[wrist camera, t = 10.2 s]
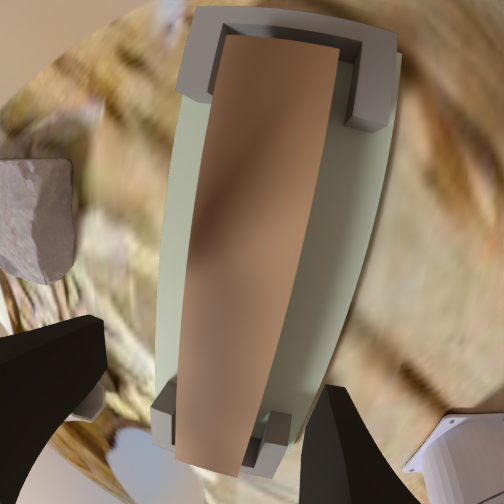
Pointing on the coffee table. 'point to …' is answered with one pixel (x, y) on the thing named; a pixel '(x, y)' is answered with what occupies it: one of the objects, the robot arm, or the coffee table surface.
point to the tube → (90, 405)
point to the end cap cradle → (319, 223)
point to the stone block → (36, 218)
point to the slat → (247, 237)
